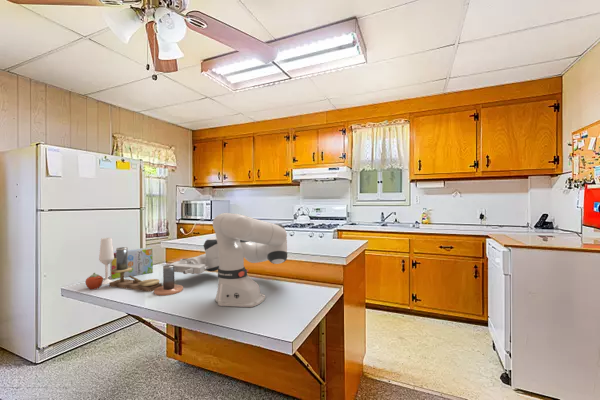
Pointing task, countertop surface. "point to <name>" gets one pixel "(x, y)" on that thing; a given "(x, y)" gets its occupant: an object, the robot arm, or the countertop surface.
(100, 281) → the tomato
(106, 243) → the champagne flute
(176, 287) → the dish
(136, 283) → the balance
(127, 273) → the snack box
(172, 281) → the brushed steel peg
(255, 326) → the countertop surface
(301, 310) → the countertop surface
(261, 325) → the countertop surface
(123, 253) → the cylinder
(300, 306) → the countertop surface
